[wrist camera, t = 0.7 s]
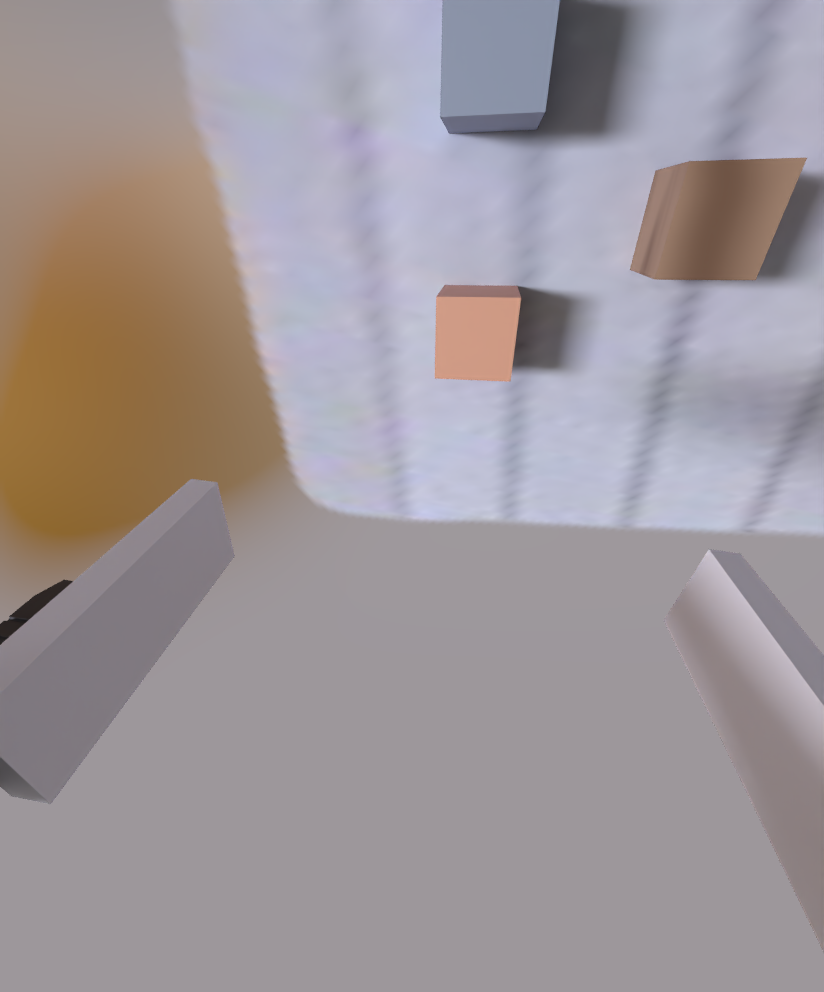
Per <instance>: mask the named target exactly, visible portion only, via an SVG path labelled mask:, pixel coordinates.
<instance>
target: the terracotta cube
mask: <svg viewBox="0 0 824 992" xmlns="http://www.w3.org/2000/svg"><path fill="white" fill-rule="evenodd" d="M520 303H521V296H520V293H519V290H518V287H517V286H476V285H444V287H443V288H442V290H441V291H440V292H439V294H438V295H437V297H436V347H435V378H439V379H463V380H487V381H511V373H512V365H513V358H514V350H515V342H516V334H517V326H518V319H519V311H520Z"/></svg>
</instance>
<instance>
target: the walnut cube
mask: <svg viewBox="0 0 824 992" xmlns="http://www.w3.org/2000/svg"><path fill="white" fill-rule="evenodd" d="M806 159H807V158H782V159H750V160H718V161H689V162H685V163H682V164H678V165H674V166H671V167H667V168H664V169H660V170H656V171H655V175H654V179H653V183H652V187H651V191H650V194H649V198H648V202H647V206H646V210H645V214H644V218H643V221H642V225H641V229H640V233H639V237H638V241H637V244H636V248H635V252H634V256H633V260H632V264H631V268H630V270H632V271H635V272H637V273H640V274H642V275H645V276H647V277H650V278H652V279H665V280H756V278H757V275H758V273H759V271H760V268H761V266H762V264H763V261H764V259H765V256H766V254H767V252H768V249H769V247H770V245H771V242H772V240H773V237H774V235H775V233H776V230H777V228H778V226H779V223H780V221H781V218H782V216H783V214H784V211H785V209H786V207H787V204H788V202H789V199H790V197H791V195H792V192H793V190H794V188H795V185H796V183H797V180H798V178H799V176H800V173H801V171H802V169H803V166H804V164H805V161H806Z"/></svg>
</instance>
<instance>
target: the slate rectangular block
mask: <svg viewBox="0 0 824 992" xmlns="http://www.w3.org/2000/svg"><path fill="white" fill-rule="evenodd" d="M559 4H560V0H443V11H442V59H441V108H440V117H441V119H442V121H443V123H444V125H445V127H446V129H447V130H448V132H449V133H469V132H492V131H515V130H536V129H537V127H538V125H539V124H540V122H541V120H542V118H543V116H544V114H545V112H546V104H547V96H548V88H549V81H550V73H551V65H552V58H553V50H554V42H555V35H556V27H557V19H558V11H559Z"/></svg>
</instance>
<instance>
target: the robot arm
mask: <svg viewBox="0 0 824 992" xmlns="http://www.w3.org/2000/svg"><path fill="white" fill-rule="evenodd" d="M233 558H234V552H233V548H232V544H231V539H230V535H229V530H228V526H227V522H226V518H225V513H224V509H223V505H222V501H221V497H220V492H219V488H218V484H217V482H210V481H202V480H195V479H191V480H189V481H188V482H187V483H186V484H185V485H184V486H182V487H181V488H180V489H179V490H178V491H177V492H176V493H174V494H173V495H172V496H171V497H170V498H169V499H167V500H166V501H165V502H164V503H163V504H162V505H161V506H159V507H158V508H157V509H156V510H155V511H154V512H152V513H151V514H150V515H149V516H148V517H147V518H146V519H144V520H143V521H142V522H141V523H140V524H139V525H138V526H136V527H135V528H134V529H133V530H132V531H131V532H129V533H128V534H127V535H126V536H125V537H124V538H123V539H121V541H119V542H118V543H117V544H116V545H115V546H113V547H112V548H111V549H110V550H109V551H108V552H107V553H105V554H104V555H103V556H102V557H101V558H100V559H99V560H97V561H96V562H95V563H94V564H93V565H92V566H90V567H89V568H88V569H87V570H86V571H85V572H83V573H82V574H81V575H80V576H79V577H78V578H77V579H75V580H74V581H68V580H63V581H61V582H59V583H57V584H55V585H53V586H52V587H50V588H48V589H47V590H44V591H42V592H41V593H39V594H37V595H35V596H34V597H32V598H31V599H30V600H29V601H28V602H26V603H25V604H24V605H23V606H21V607H20V608H19V609H18V610H17V611H15V612H14V613H13V614H12V615H10V616H9V617H10V618H9V620H8V621H3V622H2V623H1V624H0V787H1V788H2V789H4V790H5V791H6V792H7V793H8V794H10V795H11V796H13V797H18V798H23V799H28V800H33V801H38V802H43V803H48V804H51V803H52V802H53V800H54V799H55V798H56V796H57V795H58V794H59V792H60V791H61V789H62V788H63V787H64V785H65V784H66V783H67V781H68V780H69V779H70V777H71V776H72V775H73V773H74V772H75V771H76V769H77V768H78V766H79V765H80V764H81V762H82V761H83V760H84V759H85V757H86V756H87V754H88V753H89V752H90V750H91V749H92V748H93V746H94V745H95V744H96V742H97V741H98V740H99V738H100V737H101V736H102V734H103V733H104V731H105V730H106V729H107V728H108V726H109V725H110V723H111V722H112V721H113V719H114V718H115V717H116V715H117V714H118V713H119V711H120V710H121V709H122V707H123V706H124V705H125V703H126V702H127V701H128V699H129V698H130V697H131V695H132V694H133V692H134V691H135V690H136V688H137V687H138V686H139V684H140V683H141V682H142V680H143V679H144V678H145V676H146V675H147V673H148V672H149V671H150V670H151V668H152V667H153V665H154V664H155V663H156V662H157V660H158V659H159V657H160V656H161V655H162V653H163V652H164V651H165V649H166V648H167V647H168V645H169V644H170V643H171V641H172V640H173V639H174V637H175V636H176V635H177V633H178V632H179V631H180V629H181V628H182V626H183V625H184V624H185V622H186V621H187V620H188V618H189V617H190V616H191V614H192V613H193V612H194V610H195V609H196V608H197V606H198V605H199V604H200V602H201V601H202V599H203V598H204V597H205V595H206V594H207V593H208V592H209V590H210V589H211V587H212V586H213V585H214V583H215V582H216V581H217V579H218V578H219V577H220V575H221V574H222V573H223V571H224V570H225V569H226V567H227V566H228V565H229V563H230V562H231V560H232V559H233ZM664 622H665V624H666V626H667V628H668V630H669V632H670V634H671V636H672V639H673V641H674V643H675V645H676V647H677V649H678V651H679V653H680V655H681V657H682V659H683V661H684V664H685V665H686V668H687V670H688V672H689V674H690V676H691V678H692V680H693V682H694V684H695V686H696V688H697V690H698V693H699V694H700V697H701V699H702V701H703V703H704V705H705V707H706V709H707V711H708V713H709V715H710V717H711V720H712V721H713V723H714V726H715V728H716V730H717V732H718V734H719V736H720V738H721V740H722V742H723V744H724V746H725V749H726V751H727V753H728V754H729V757H730V759H731V761H732V763H733V765H734V767H735V769H736V771H737V773H738V775H739V778H740V780H741V782H742V783H743V786H744V788H745V790H746V792H747V794H748V796H749V798H750V800H751V802H752V804H753V807H754V808H755V811H756V813H757V815H758V817H759V819H760V821H761V823H762V825H763V827H764V829H765V831H766V834H767V836H768V837H769V840H770V842H771V844H772V846H773V848H774V850H775V852H776V854H777V856H778V858H779V861H780V863H781V864H782V867H783V869H784V871H785V873H786V875H787V877H788V879H789V881H790V883H791V885H792V887H793V889H794V892H795V893H796V896H797V898H798V900H799V902H800V904H801V906H802V908H803V910H804V912H805V914H806V916H807V919H808V920H809V923H810V925H811V927H812V929H813V931H814V933H815V935H816V937H817V939H818V941H819V943H820V945H821V948H822V950H823V952H824V655H823V654H822V652H821V651H820V650H819V649H818V648H817V646H816V645H815V644H814V643H813V641H812V640H811V639H810V638H809V637H808V635H807V634H806V633H805V632H804V630H803V629H802V628H801V627H800V626H799V625H798V623H797V622H796V621H795V620H794V618H793V617H792V616H791V615H790V613H789V612H788V611H787V610H786V609H785V607H784V606H783V605H782V604H781V603H780V601H779V600H778V599H777V598H776V597H775V595H774V594H773V593H772V591H771V590H770V589H769V588H768V587H767V585H766V584H765V583H764V582H763V581H762V579H761V578H760V577H759V576H758V574H757V573H756V572H755V571H754V570H753V569H752V567H751V566H750V565H749V564H748V562H747V561H746V560H745V559H744V558H743V556H742V555H741V554H740V553H733V552H725V551H718V550H711V549H709V550H708V552H707V553H706V555H705V556H704V558H703V559H702V561H701V563H700V564H699V566H698V567H697V569H696V571H695V572H694V574H693V575H692V577H691V578H690V580H689V581H688V583H687V584H686V586H685V588H684V589H683V591H682V592H681V594H680V596H679V597H678V599H677V600H676V602H675V603H674V605H673V607H672V608H671V609H670V611H669V613H668V614H667V616H666V617H665V619H664Z"/></svg>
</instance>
